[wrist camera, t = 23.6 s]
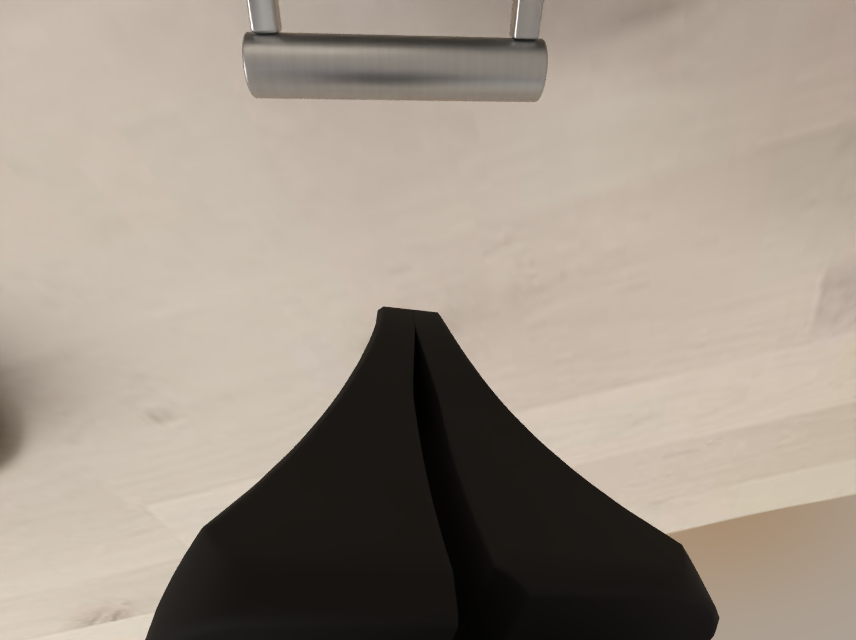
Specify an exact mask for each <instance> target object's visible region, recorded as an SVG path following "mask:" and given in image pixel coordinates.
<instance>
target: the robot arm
mask: <svg viewBox="0 0 856 640" xmlns="http://www.w3.org/2000/svg"><path fill="white" fill-rule="evenodd" d="M718 621H719V616H718V613H717V610H716V607H715V605H714V603H713V601H712V600H711V597H710V595H709V594H708V592H707V590H706V588H705V586H704V584H703V582H702V580H701V578H700V576H699V574H698V572H697V571H696V569H695V567H694V565H693V563H692V562H691V560H690V558H689V556H688V554H687V553H686V551H685V549H684V548H683V546H682V545H681V544H680V543H678V542H677V541H675V540H674V539H672V538H671V537H669V536H667V535H666V534H664V533H663V532H661V531H660V530H658V529H657V528H655V527H653V526H652V525H650V524H649V523H647V522H646V521H644V520H642V519H641V518H639V517H638V516H636V515H635V514H633V513H631V512H630V511H628V510H627V509H625V508H624V507H622V506H621V505H620V504H618V503H617V502H615V501H614V500H613V499H611V498H610V497H609V496H607V495H606V494H604V493H603V492H602V491H600V490H599V489H598V488H596V487H595V486H593V485H592V484H591V483H589V482H588V481H587V480H586V479H584V478H583V477H582V476H580V475H579V474H578V473H577V472H575V471H574V470H573V469H572V468H570V467H569V466H568V465H567V464H566V463H565V462H563V461H562V460H561V459H560V458H559V457H558V456H556V455H555V454H554V453H553V452H552V451H551V450H549V449H548V448H547V447H546V446H545V445H544V444H543V443H542V442H540V441H539V440H538V439H537V438H536V437H535V436H534V435H533V434H532V433H531V432H530V431H529V430H528V429H527V428H526V427H525V426H524V425H523V424H522V423H521V422H520V421H519V420H518V419H517V418H516V417H515V416H514V415H513V414H512V413H511V412H510V411H509V410H508V408H507V407H506V406H505V405H504V404H503V403H502V402H501V401H500V399H499V398H498V397H497V396H496V395H495V393H494V392H493V391H492V390H491V389H490V387H489V386H488V385H487V384H486V382H485V381H484V380H483V378H482V377H481V376H480V374H479V373H478V372H477V370H476V369H475V367H474V366H473V365H472V363H471V362H470V361H469V359H468V358H467V356H466V355H465V353H464V352H463V351H462V349H461V348H460V346H459V344H458V343H457V341H456V340H455V338H454V337H453V335H452V334H451V332H450V331H449V329H448V327H447V326H446V324H445V323H444V321H443V319H442V318H441V316H440V315H439V314H438V312H429V311H420V310H410V309H401V308H392V307H382V308H381V309H379V310H378V312H377V319H376V325H375V328H374V331H373V333H372V336H371V338H370V341H369V343H368V345H367V347H366V349H365V351H364V353H363V355H362V357H361V359H360V361H359V362H358V364H357V366H356V367H355V369H354V371H353V372H352V374H351V375H350V377H349V379H348V380H347V382H346V383H345V385H344V387H343V388H342V390H341V391H340V392H339V394H338V395H337V397H336V398H335V399H334V401H333V402H332V404H331V405H330V406H329V407H328V409H327V410H326V411H325V413H324V414H323V415H322V416H321V418H320V419H319V420H318V421H317V422H316V423H315V425H314V426H313V427H312V428H311V429H310V430H309V431H308V433H307V434H306V435H305V436H304V437H303V438H302V439H301V441H300V442H299V443H298V444H297V445H296V446H295V447H294V448H293V449H292V450H291V451H290V452H289V453H288V454H287V455H286V456H285V457H284V458H283V459H282V460H281V461H280V462H279V463H278V464H277V465H275V466H274V467H273V468H272V469H271V470H270V471H269V472H268V473H267V474H266V475H265V476H264V477H263V478H262V479H261V480H260V481H259V482H258V483H256V484H255V485H254V486H253V487H252V488H251V489H250V490H248V491H247V492H246V493H245V494H243V495H242V496H241V497H240V498H239V499H237V500H236V501H235V502H234V503H232V504H231V505H230V506H229V507H227V508H226V509H225V510H224V511H222V512H221V513H220V514H219V515H218V516H216V517H215V518H214V519H213V520H211V521H210V522H209V523H208V524H206V525H205V526H204V527H203V528H202V529H201V531H200V532H199V534H198V535H197V537H196V538H195V540H194V541H193V543H192V544H191V546H190V548H189V549H188V551H187V552H186V554H185V555H184V557H183V559H182V561H181V562H180V564H179V566H178V567H177V569H176V571H175V573H174V574H173V576H172V578H171V580H170V582H169V584H168V586H167V588H166V590H165V592H164V594H163V596H162V598H161V600H160V603H159V605H158V607H157V609H156V612H155V615H154V617H153V620H152V623H151V626H150V628H149V631H148V634H147V636H146V639H145V640H711V638H712V637H713V636H714V634H715V631H716V628H717V624H718Z"/></svg>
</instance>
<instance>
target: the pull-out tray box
mask: <svg viewBox="0 0 856 640" xmlns="http://www.w3.org/2000/svg"><path fill="white" fill-rule="evenodd" d="M543 1H544V0H513V4H512V14H511V23H510V33H509V35H510V37H512V38H492V37H449V36H406V35H363V34H321V33H278V32H279V31H281V29H282V26H281V18H280V10H279V2H278V0H247V6H248V12H249V19H250V25H251V30H252V32H246V33H245V34H244V37H243V43H242V57H243V66H244V72H245V77H246V81H247V85H248V88H249V90H250V92H251V94H252V96H253V97H255V98H279V99H351V100H424V101H496V102H536V101H538V100H539V98H540V97H541V94H542V92H543V89H544V85H545V80H546V74H547V64H548V55H547V46H546V43H545V41H544V40H543V39H538V37H539V31H540V24H541V16H542V9H543Z"/></svg>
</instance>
